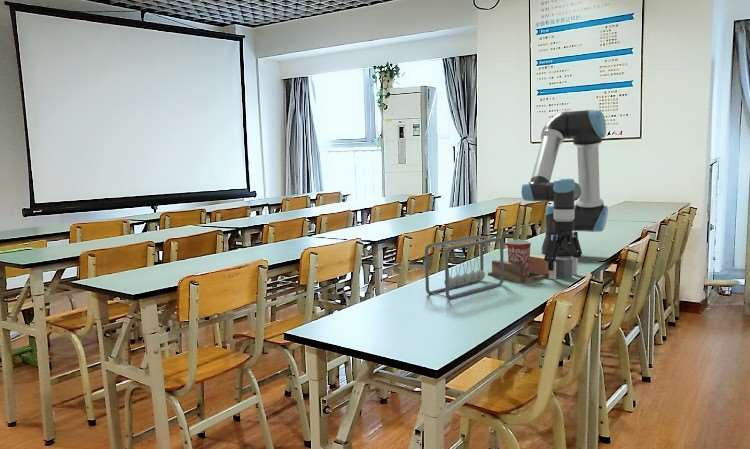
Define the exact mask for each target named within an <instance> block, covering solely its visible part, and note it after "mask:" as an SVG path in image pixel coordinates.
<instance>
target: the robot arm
mask: <svg viewBox="0 0 750 449" xmlns="http://www.w3.org/2000/svg"><path fill="white" fill-rule="evenodd" d="M606 135H607V126H606V119H605V116H604V113H603V112H602V111H601V110H597V109H594V110H593V109H585V110H575V111H563V112H562V111H561V112H560V113H557V114H555V115H554V116H553V117H552V118H551V119H550V120H548V121H547V123H546V124H545V125H544V127H543V128H542V130H541V134H540V140H541V142H540V145H539V146H540V147H539V150H538V152H537V157H536V160H535V163H534V167H533V171H532V174H531V177H530V181H527V182H523V183H522V186H521V197H522V199H523V201H526V202H534V203H535V202H553V203H550V204H548V205H546V208H545V214H544V216H545V224H544V225H545V234H544V235H545V236H544V238H543V239H544V240H543V242H542V246H541V253H542V254H543V255H544V260H545V261H548V270H549V277H548V279H550V280H553V281H554V280H557V277H556V262H555V259H557V258H558V256H570V259H572V275H578V265H579V258H581V256H582V255H583V252H582V251H583V250H582V247H581V245H580V240H579V233H578V232H590V233H591V232H592V233H595V232H596V233H598V232H599V233H600V232H603V231H604V230H605V229H606V228H605V227H606V225H607V220H608V214H609V207H608V205H605V204H604V200H603V199H602V198H601V194H600V192H601V190H600V160H599V159H600V158H599V155H600V154H599V153H600V152H599V145H600V144H601V143H602V142H603V139H604V138H606ZM564 140H572V141H573V142H572V144H573V145H575V147H576V148H577V149H576V150H577V151H576V152H577V154H576V155H577V172H578V173H577V175H578V178H577V179H578V183H577V182H576V181H575V179H573V178H555V179H554V180H553V182H551V178H552V175H553V171H554V168H555V164H556V160H557V158H558V157H557V156H558V153H559V149H560V146H561V145H562V144H563V143H564ZM575 201H576V202H575Z"/></svg>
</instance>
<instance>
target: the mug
mask: <svg viewBox="0 0 750 449" xmlns="http://www.w3.org/2000/svg"><path fill="white" fill-rule="evenodd" d="M531 244H532V241H529V240H525V239H523V240H522V239H512V240H508V241H507V242H506V245H507V246H506V247H507V262H513V263H518V264H524V265H525V279H527V278H529V276H530V275H529V274H530V273H529V260H530V254H531Z"/></svg>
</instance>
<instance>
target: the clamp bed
mask: <svg viewBox="0 0 750 449" xmlns="http://www.w3.org/2000/svg"><path fill="white" fill-rule="evenodd" d="M503 266H504V278H505V279H506V280H508V281H509V280H510V281H514V282H518V281H519V283H524V284H525V283H529V282H534V281H538V280H542V279H545V278H546V279H547V278H549V274H544V275H536V276H532V277H526V278H525V265H524V264H518V263H513V262H508V260H507V261H506V260H503ZM487 275H488V276H492V277H496V278H499V277H500V259H494V260H491V271H490V272H488V273H487Z"/></svg>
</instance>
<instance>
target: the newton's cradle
mask: <svg viewBox="0 0 750 449" xmlns="http://www.w3.org/2000/svg"><path fill="white" fill-rule="evenodd" d="M476 240H477V241H476ZM463 242H464V243H463ZM493 242H499V245H500V247H499V249H500V250H499V253H500V254H499V256H500V258H499V260H500V279H499V282H497V283H495V282H490V281H486V280H484V279H485V277H486V273H485V271H484V249H485V246H484V245H485V244H488V243H489V244H490V243H493ZM458 243H460V244H458ZM454 244H456V245H454ZM447 245H449V246H447ZM473 246H474V247H475V257H474V260H477V261H476V262H477V263H479V264H480V266H479V265H477V268H478V269H477V270H476V271H475V269H473V268H472V266H470V269H471V271H470V272H469V273H467V272H468V269H466V270H465V269H463V273H462V274H461V275H460V274H459V273H460V272H461V268H458V269H459V271H458V269H457V267H455V269H456V270H455V271H458V273H456V275H454V276H453V277H452V276H451V275H450V274H452V272H453V269H451V272H450V271H449V269H450V268H449V252H450V251H452V250H453V259H452V261H454V263H455V265H457V262H456V260H455V259H456V255H455V252H456V250H457V249H461V250H460V252H461V253H460V254H461V256H460V259H461V261H460V263H459V264H460V265H459V266H461V264H462V265H463V268H465V266H464V263H462V261H464V260H463V250H464V248H467V250H468V252H470V250H471V247H473ZM477 246H479V250H480V251H479V253H480V255H479V256H480V258H479V260H478V258H477V257H478V254H477V251H478V250H477V249H478V247H477ZM434 247H435V248H441V249H445V252H444V274H445V275H444V277H445V278H444V279H445V280H444V285H445V287H443V288H438V289H434V290H432V291H430V281H429V280H430V275H429V274H430V273H429V249H430V248H434ZM470 258H471V255H470V253H468V258H467V260H469V262H467V263H466V267H468V266H469V263H470V265H472V262H471V260H470ZM479 261H480V262H479ZM503 261H504V240H503V239H502V237H491V236H490V237H489V236H482V235H480V234H477V235H476V234H475V235H472V236H471V235H470V236H466V237H462V238H456V239H455V238H454V239H450V240H444V241H438V242H433V243H429V244H427V245H426V247H425V248H424V269H425V270H424V271H425V274H424V275H425V276H424V278H425V292H426V293H427V294H428V295H430V296H431V295H436V296H440V297H444V298H445V297H446V298H447V299H448V300H454V299H457V298H461V297H465V296H469V295H472V294H475V293H479V292H483V291H486V290H490V289H493V288H498V287H500V286H502V285H503V284H504V266H503ZM476 262H474V263H473V267H475V263H476ZM454 263H452V264H451V265H452V266H451V268H453V265H454ZM465 271H466V272H465ZM480 282H481V283H485V284H489V285H486V286H482V287H478V288H476V289H471V290H468V291H463V292H459V293H456V294H453V295H450V290H455V289H458V288H462V287H466V286H470V285H473V284H477V283H480ZM497 286H498V287H497ZM443 292H445V295H444V294H440V293H443Z"/></svg>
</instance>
